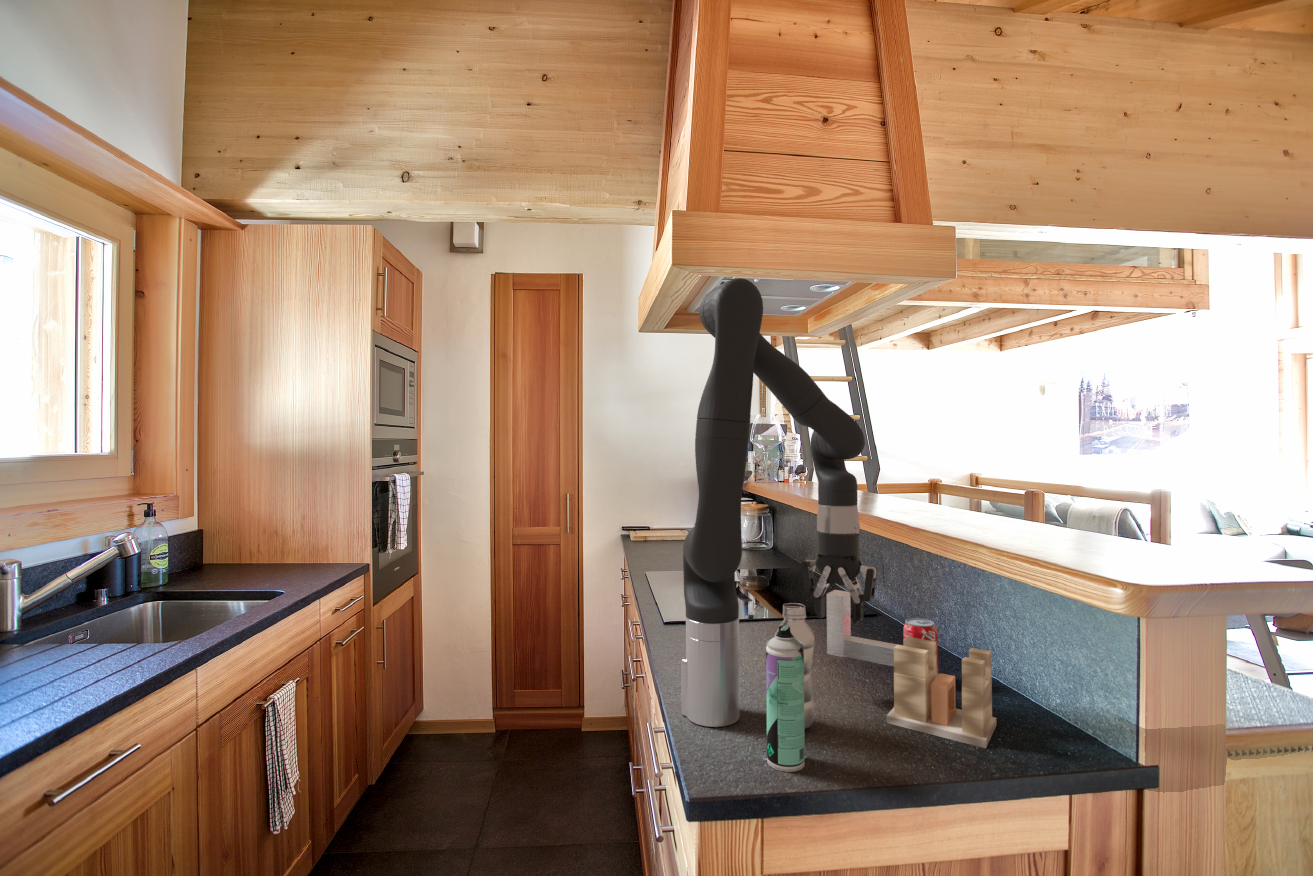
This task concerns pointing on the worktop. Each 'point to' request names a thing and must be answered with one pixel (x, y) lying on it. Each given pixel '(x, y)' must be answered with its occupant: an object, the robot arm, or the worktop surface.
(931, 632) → the soda can
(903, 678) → the stand
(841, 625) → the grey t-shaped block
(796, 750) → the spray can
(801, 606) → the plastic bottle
